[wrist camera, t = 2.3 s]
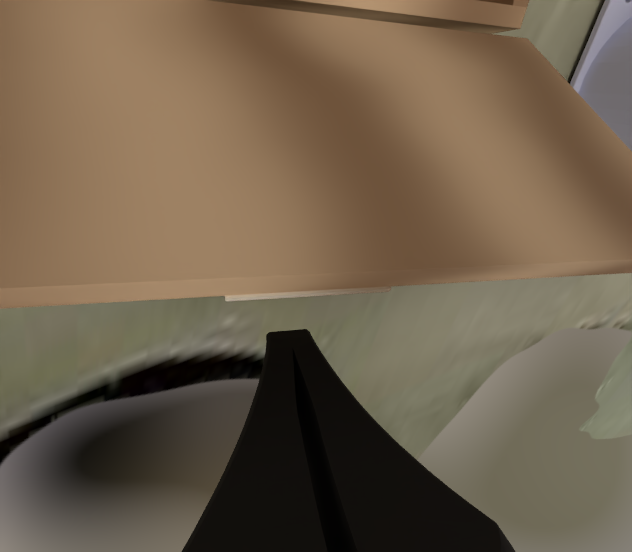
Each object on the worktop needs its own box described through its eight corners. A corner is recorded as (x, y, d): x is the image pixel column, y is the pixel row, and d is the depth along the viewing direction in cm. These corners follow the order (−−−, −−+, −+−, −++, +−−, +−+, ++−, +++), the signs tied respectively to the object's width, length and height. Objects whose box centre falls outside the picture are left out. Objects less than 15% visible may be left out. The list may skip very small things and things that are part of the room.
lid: (729, 256, 7) (690, 273, 7) (526, 37, 11) (513, 59, 12) (-549, 317, 3) (-421, 339, 4) (-93, -37, 8) (-67, -1, 8)
